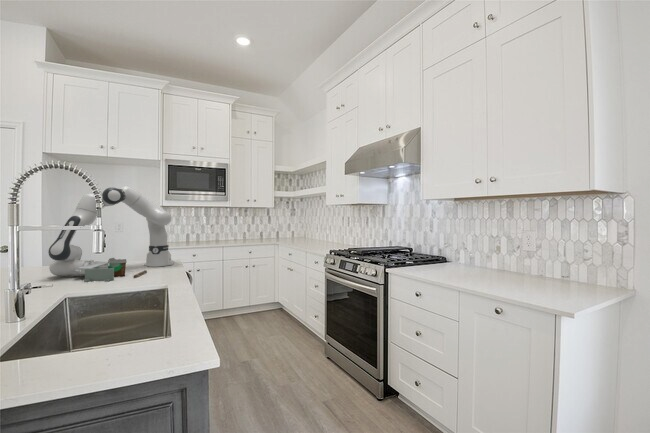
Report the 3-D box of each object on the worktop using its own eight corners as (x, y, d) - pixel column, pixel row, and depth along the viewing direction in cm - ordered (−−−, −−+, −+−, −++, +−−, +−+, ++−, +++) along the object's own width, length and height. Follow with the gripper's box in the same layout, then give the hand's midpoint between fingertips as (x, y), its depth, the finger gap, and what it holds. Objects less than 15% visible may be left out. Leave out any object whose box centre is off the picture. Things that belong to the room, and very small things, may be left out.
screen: (86, 280, 174) (86, 268, 174) (114, 280, 177) (114, 268, 176) (82, 282, 171) (82, 270, 171) (110, 281, 173) (110, 269, 173)
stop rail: (144, 272, 198) (144, 270, 198) (146, 272, 198) (146, 270, 198) (133, 278, 182) (133, 275, 182) (135, 278, 182) (135, 275, 182)
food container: (103, 275, 188) (103, 258, 187) (113, 274, 193) (113, 257, 193) (115, 277, 182) (115, 260, 182) (126, 276, 188) (126, 259, 188)
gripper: (72, 265, 175) (99, 265, 177) (92, 260, 195) (117, 259, 197) (72, 277, 175) (99, 276, 177) (92, 270, 195) (117, 269, 198)
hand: (109, 267), depth 188 cm, fingers closed
